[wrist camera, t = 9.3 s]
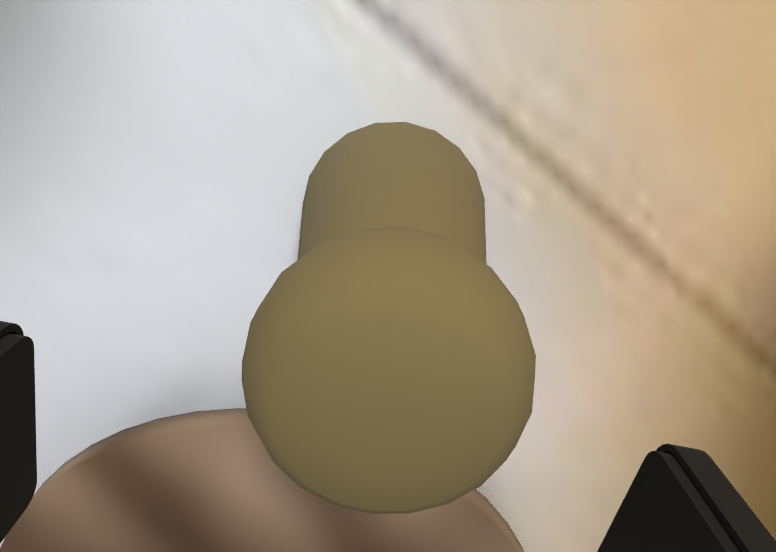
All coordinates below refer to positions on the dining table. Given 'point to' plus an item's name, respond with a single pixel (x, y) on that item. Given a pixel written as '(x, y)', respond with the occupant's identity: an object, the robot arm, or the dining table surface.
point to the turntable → (223, 501)
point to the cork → (390, 332)
